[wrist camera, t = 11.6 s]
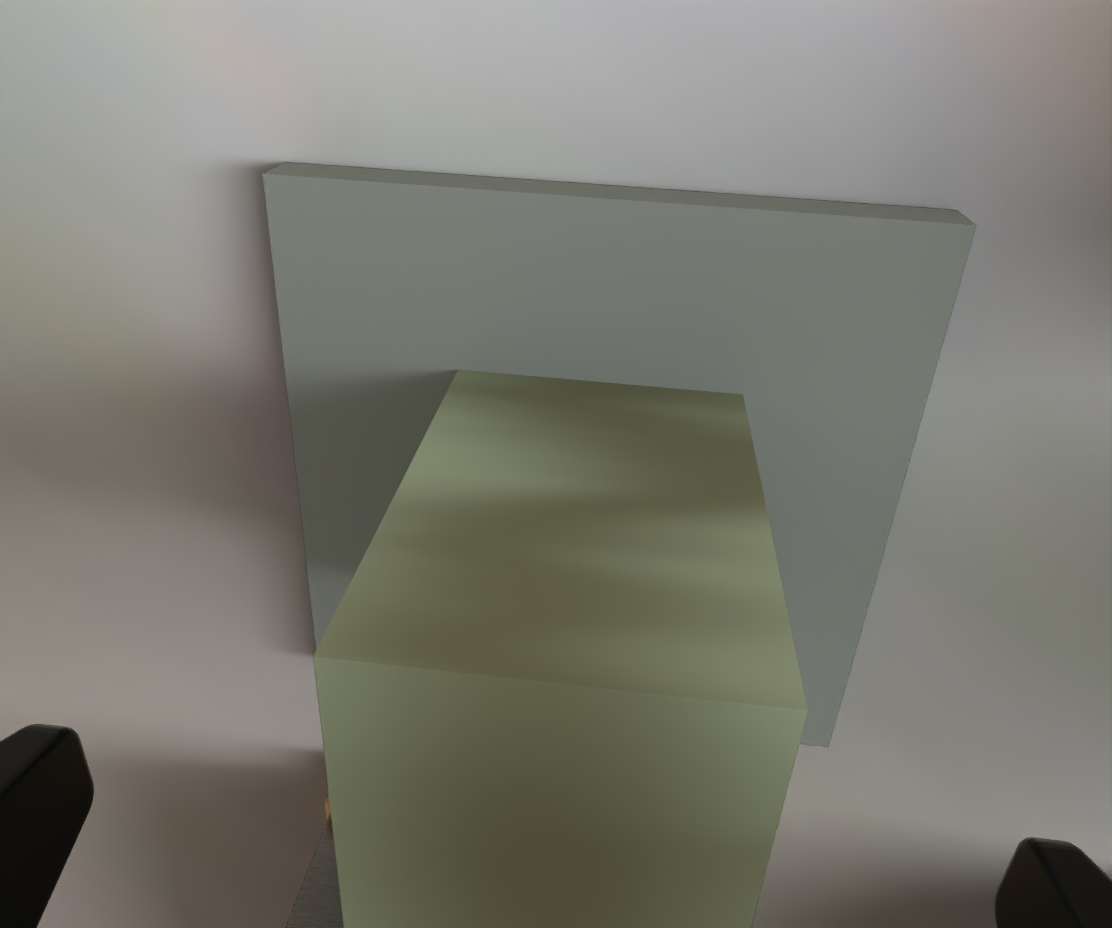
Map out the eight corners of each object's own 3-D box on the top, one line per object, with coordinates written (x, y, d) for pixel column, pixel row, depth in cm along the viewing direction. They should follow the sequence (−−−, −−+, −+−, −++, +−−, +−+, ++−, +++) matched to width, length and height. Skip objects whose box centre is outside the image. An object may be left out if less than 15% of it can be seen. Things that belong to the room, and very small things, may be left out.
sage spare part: (742, 393, 12) (808, 711, 7) (704, 620, 14) (732, 998, 9) (457, 369, 12) (312, 655, 7) (458, 594, 14) (345, 948, 9)
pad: (956, 210, 11) (976, 225, 11) (820, 713, 16) (828, 747, 15) (285, 162, 12) (262, 173, 11) (334, 660, 16) (320, 691, 16)
